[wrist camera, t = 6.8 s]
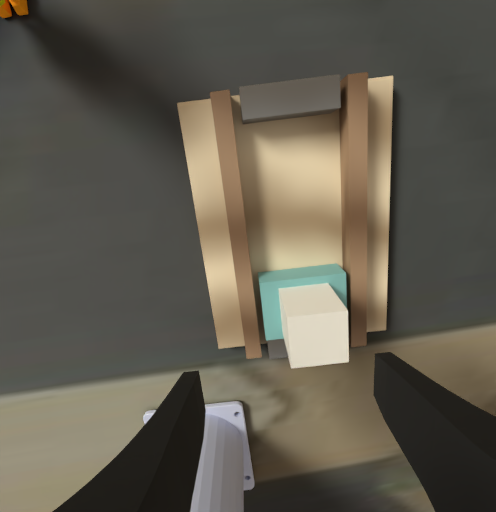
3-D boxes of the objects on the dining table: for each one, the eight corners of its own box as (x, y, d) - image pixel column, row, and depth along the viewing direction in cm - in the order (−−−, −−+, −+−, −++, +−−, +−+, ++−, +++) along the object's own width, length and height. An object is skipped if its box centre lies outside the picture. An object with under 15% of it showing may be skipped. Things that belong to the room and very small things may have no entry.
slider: (338, 317, 20) (370, 367, 15) (264, 325, 21) (271, 378, 15) (336, 263, 19) (370, 298, 14) (257, 272, 19) (263, 310, 14)
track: (379, 322, 22) (399, 344, 19) (219, 340, 22) (216, 365, 19) (384, 80, 17) (411, 65, 14) (180, 106, 17) (169, 95, 15)
